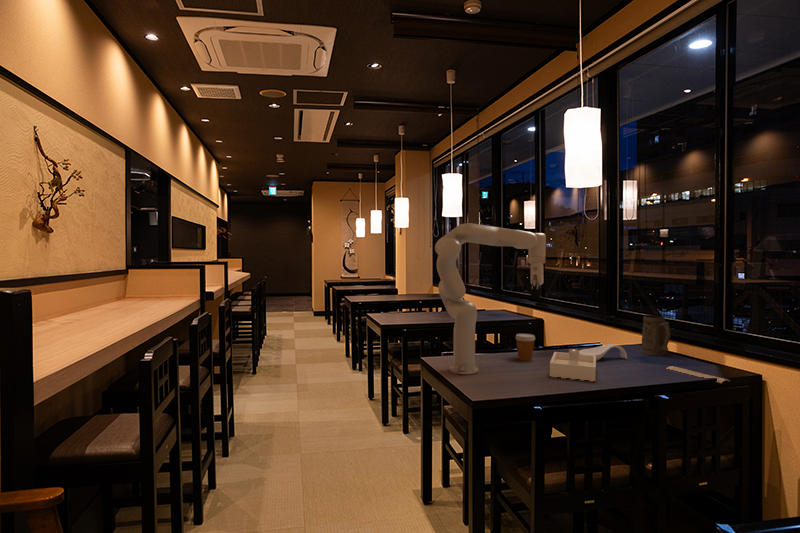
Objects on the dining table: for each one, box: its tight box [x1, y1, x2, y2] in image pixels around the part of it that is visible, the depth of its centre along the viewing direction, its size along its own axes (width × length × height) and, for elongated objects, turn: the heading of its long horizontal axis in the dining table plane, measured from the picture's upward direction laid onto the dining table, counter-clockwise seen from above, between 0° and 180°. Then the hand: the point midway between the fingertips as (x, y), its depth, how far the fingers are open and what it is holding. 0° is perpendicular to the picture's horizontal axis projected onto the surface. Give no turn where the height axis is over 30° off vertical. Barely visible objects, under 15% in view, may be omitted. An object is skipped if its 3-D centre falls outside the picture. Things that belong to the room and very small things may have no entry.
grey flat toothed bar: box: [666, 365, 731, 384], centre depth 200 cm, size 24×7×2 cm, turn 26°
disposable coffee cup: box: [515, 333, 536, 362], centre depth 226 cm, size 10×10×12 cm
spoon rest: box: [579, 343, 628, 361], centre depth 228 cm, size 24×12×7 cm, turn 97°
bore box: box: [549, 351, 597, 382], centre depth 203 cm, size 22×18×6 cm
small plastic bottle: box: [568, 348, 580, 365], centre depth 203 cm, size 4×4×10 cm
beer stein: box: [641, 314, 672, 357], centre depth 237 cm, size 15×11×20 cm
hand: (536, 296), depth 213 cm, fingers open, 9 cm apart
